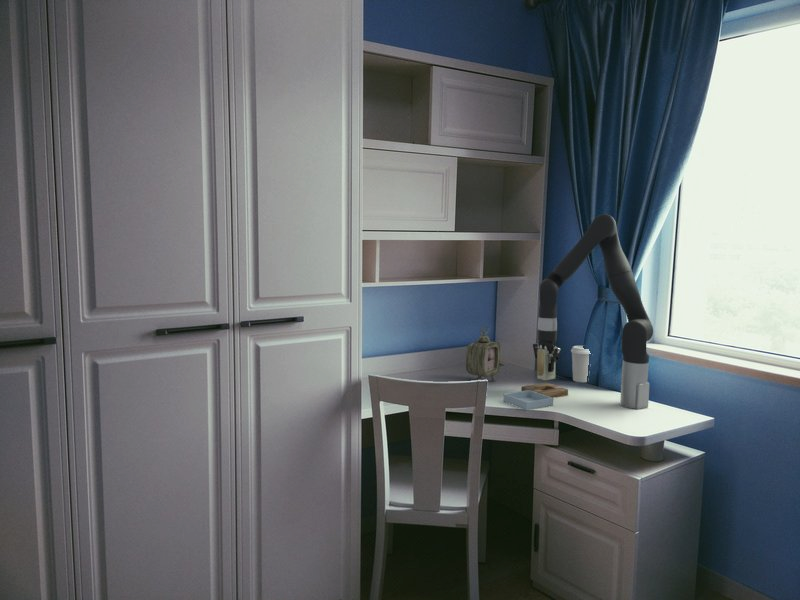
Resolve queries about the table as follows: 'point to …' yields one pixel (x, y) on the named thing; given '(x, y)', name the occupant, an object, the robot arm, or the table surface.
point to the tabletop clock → (483, 357)
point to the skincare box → (544, 366)
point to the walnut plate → (547, 389)
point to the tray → (528, 400)
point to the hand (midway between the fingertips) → (546, 370)
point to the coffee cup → (580, 363)
